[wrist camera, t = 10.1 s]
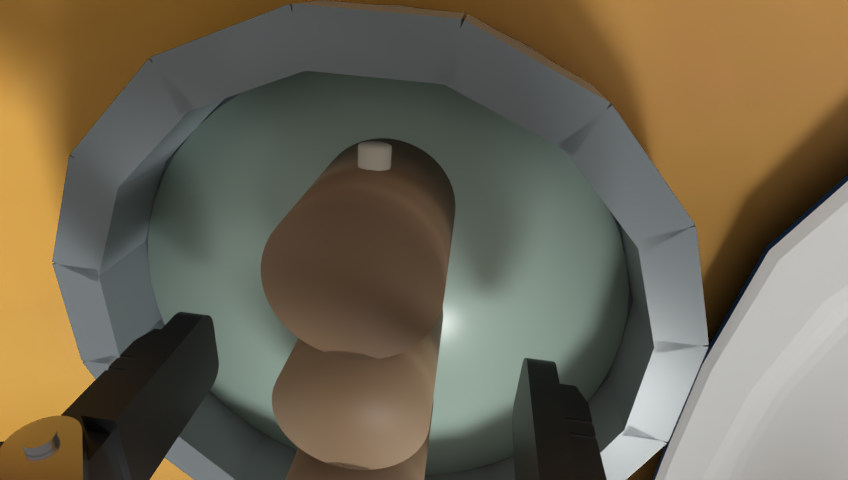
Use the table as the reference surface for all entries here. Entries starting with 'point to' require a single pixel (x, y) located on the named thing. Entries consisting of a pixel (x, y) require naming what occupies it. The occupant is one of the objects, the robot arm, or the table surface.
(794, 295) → the plate
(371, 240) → the bead string
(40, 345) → the table surface
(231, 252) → the round tray
